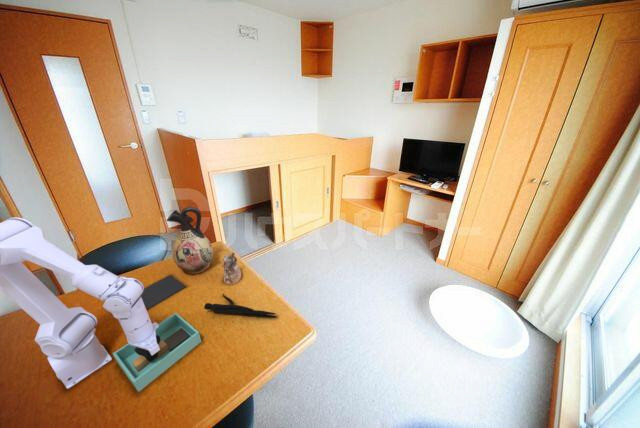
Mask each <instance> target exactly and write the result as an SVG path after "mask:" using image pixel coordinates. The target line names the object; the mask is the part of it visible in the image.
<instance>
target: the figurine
mask: <svg viewBox="0 0 640 428" xmlns="http://www.w3.org/2000/svg"><path fill="white" fill-rule="evenodd" d="M222 260H223V264H222V266H221V267H222V268H223V277H222V278H223V282H224V283H225V284H227V285H234V284H237V283H238V282H239V281H240V280H241V279H242V272H241V267H240V266H239V264H238V259H237V257H236V256H235V252H232V253H231V254H228V253H227V254H226V255H225V256H224V257H222Z"/></svg>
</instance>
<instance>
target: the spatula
mask: <svg viewBox="0 0 640 428" xmlns="http://www.w3.org/2000/svg"><path fill="white" fill-rule="evenodd" d="M189 337H190V335H189V334H188V333H187V332H186V331H185V330H184V329H182V328H181V329H179V330H178V331H176V332H175V333H174V334H172V335H171V336H169V337H168V338H167V339H165V340H164V341H163V340H162V341H161V342H160V343H159V348H160V350H159V351H158V357H159V356H161V355H162V354H163V353H165V352H166V351H167V350H170V351H172V350H174V349H175V348H176V347H178V346H179V345H180V344H182V343H183V342H184V341H186V340H187V339H188V338H189ZM158 357H157V358H158ZM157 358H155V359H157ZM155 359H154V360H155ZM154 360H153V361H154ZM153 361H151V362H153ZM151 362H149V361H148V360H147V359H146V358H145V357H144V356H142V355H141V356H139V357H138V358H137V359H135V360H134V361H132V364H133V366H134V368H135V369H136V370H137V372H139V371H141V370H142V369H143V368H145V367H146V366H147V365H149V364H150V363H151Z"/></svg>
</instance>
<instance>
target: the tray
mask: <svg viewBox="0 0 640 428" xmlns="http://www.w3.org/2000/svg"><path fill="white" fill-rule="evenodd" d="M186 287H187V286H186V285H185V284H184V283H182V282H181V281H180V280H178V279H177V278H176V277H174V276H173V275H171V274H170V275H167V276H165V277H163V278H162V279H160V280H158V281H156V282H154V283H152V284H150V285H148V286H147V287H144V291H143V292H142V294H141V295H140V296H141V298H142V300H143V303H144V305H145V308H146V310H147V311H148V310H149V309H151V308H153V307H155V306H157V305H158V304H160V303H162V302H163V301H165V300H167V299H169V298H170V297H171V296H174V295H175V294H176V293H179V292H180V291H182V290H184V289H185V288H186Z"/></svg>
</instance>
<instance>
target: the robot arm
mask: <svg viewBox="0 0 640 428" xmlns="http://www.w3.org/2000/svg"><path fill="white" fill-rule="evenodd" d="M24 262H31V263H33V264H35V265H38V266H40V267H42V268H44V269H48V270H50V271H52V272H55V273H57V274H60V275H62V276H64V277H67V278H70V280H71V284H72V287H73V288H76V289H77V290H80V291H81V292H84V293H85V294H88V295H90V296H92V297H93V298H96V299H98V300H99V301H102V302H103V304H102V307H103V308H104V309H105V310H106V311H107V312H108V313H111V314H112V316H113V318H115V319H117V320H118V323H119V324H120V327H121V328H122V331H123V333H124V335H125V337H126V341H127V342H126V343H127V344H128V343H129V344H130V345H131V346H134V347H136V348H135V349H134V351H135V352H136V353H137V354H138V355H142V356H144V357H145V358H146V359H147V360H148V361H149V362H151V361H153V360H154V359H155V358H157V357H158V351H159V350H160V348H159V343H160V341H161V339H160V337H159V336H158V335H157V336H156V331H155V330H156V329H157V328H158V327H159V325H158V324H159V323H158V322H156V321H155V322H152V320H151V318H150V315H149V312H148V310H146V308H145V305H144V303H143V300H142V298H141V296H140V295H141V294H142V292H143V291H144V288H145V286H144V284H143V283H142V282H141V281H140V280H138V279H136V278H134V277H126V276H122V275H121V276H118V275H117V274H115V273H113V272H111V271H109V270H107V269H105V268H104V267H102V266H100V265H98V264H84V263H83V262H81V261H80V260H78V259H77V258H75V257H74V256H72V255H71V254H69V253H68V252H66V251H64V249H61V248H60V247H58V246H57V245H55V244H54V243H52V242H50V241H49V240H47V239H46V238H45V233H44V230H43V229H42V228H41V227H39V226H37V225H35V224H34V223H33V222H31V220H28V219H25V218H22V217H17V216H16V217H9V218H8V219H6V220H4V221H2V222H0V291H1V292H2V293H3V294H4V295H6V296H7V297H8V298H9V299H10V300H11V301H12V302H14V303H15V305H17V306H18V307H19V308H20V309H21V310H23V311H24V312H25V313H26V314H27V315H28V316H30V318H32V319H33V320H34V321H35V322H37V323H38V324H39V327H38V330H37V332H36V335H35V338H34V342H36V344H38V346H39V347H40V350H41V352H42V354H44V355H45V356H47V357H46V358H47V361H48V363H49V365H50V366H51V368H52V370H53V371H54V373H55V375H56V377H57V379H58V380H59V381H61V382H62V383H63V385H64V387H65V388H66V389H70V388H71V387H74V385H76V384H78V383H79V382H80V381H81V382H82V381H83V380H84V379H85V378H87V377H88V376H90V375H91V374H93V373H94V372H95V371H97V370H99V369H100V368H102V367H103V366H105V365H107V364H108V363H110V361H112V360H113V358H112V357H111V355H110V354H109V352H108V351H107V350H106V348H105V346H104V345H103V344H101V342H100V341H99V339H98V336H97V335H96V333H95V332H96V328H95V327H96V326H97V324H98V319H97V317H96V316H95V315H94V314H93V313H91V312H89V311H87V310H85V309H84V308H83V307H82V306H74V307H73V306H72V307H67V305H66V304H64V303H63V302H62V301H61V299H59V298H58V296H56V295H55V294H54V293H53V292H52V291H51V289H49V288H48V287H47V286H46V285H45V284H44V283H43V282H42V281H41V280H40V279H39V278H38V277H37V276H36V275H35V274H34V273H33V272H32V271H31V270H30V269H28V268H27V266H25V265H24V264H23V263H24Z"/></svg>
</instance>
